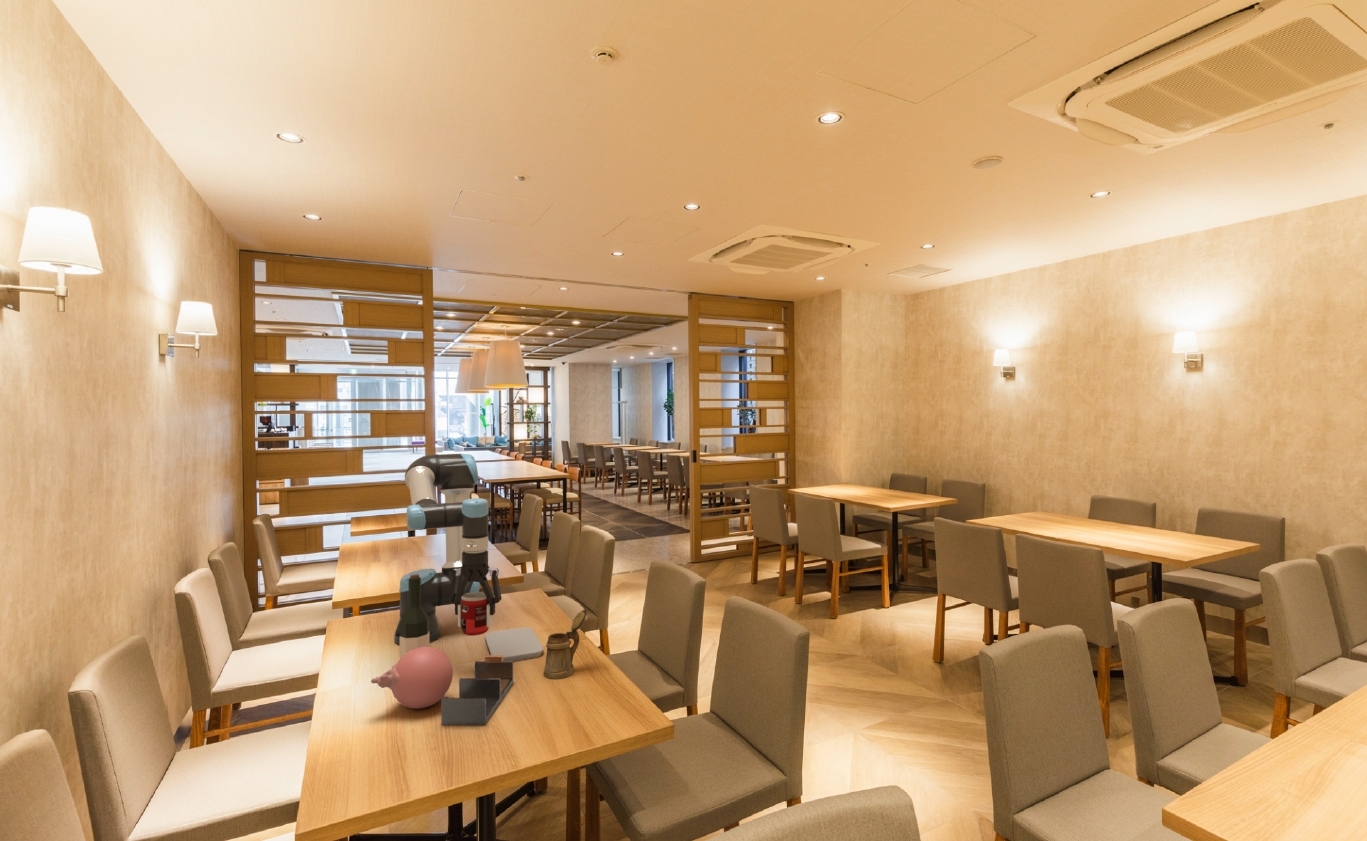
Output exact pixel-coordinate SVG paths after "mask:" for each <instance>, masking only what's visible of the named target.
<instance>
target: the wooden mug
mask: <svg viewBox="0 0 1367 841" xmlns="http://www.w3.org/2000/svg"><path fill="white" fill-rule="evenodd" d="M587 612H588V610H587V608H586V609H582V610H580V611H579V612H577V614H576V615H575V617H574V619H573V621H572V624H571V629H570V630H568V631H566V632H565V633H563V632H557V633H556V632H555V633H552V634H549V635H548V637H547V641H546V644H545V647H546V655H545V664H544V668H543V672H542V674H543V676H544V677H545V678H548V679H551V680H553V679H554V680H558V679H559V680H560V679H564V678H567V677H569V676H571V675H573V674H574V671H575V667H574V663H573V659H574V655H575V653H576V652H577V649H578V647H579V644H580V634H579V632H578V630H579V629H580V628H581V627H582V626H583V624H584V622H585V621H586V618H587V614H588V613H587ZM571 640H573V643H572V641H571ZM571 643H572V646H571Z"/></svg>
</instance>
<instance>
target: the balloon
mask: <svg viewBox="0 0 1367 841" xmlns="http://www.w3.org/2000/svg"><path fill="white" fill-rule="evenodd" d="M453 676H454V670H453V665H452V662H451V660H450V658H449V656H447V654H446V653H445V652H444V651H442V650H441V649H440V648H437V647H432V646H429V647H427V646H426V647H418V648H415V649H413V650H411V651H409V652H407V653H406V654H405V655H403V656H402V657H401V658H400V657H399V659H398V660H397V662H396V663H395V664H393V666H392V667H391V669H389V670H386V672H384V673H383V674H382V675H380V676H376V677H375V678H372V679H371V680H370V682H371V684H377V686H378V687H380V688H382V689H384V688H388V689H390V690H391V692H392V695H393V696H394V698H395V700H396V701H397V702H398V703H400V704H401V706H402V705H403V706H404V707H406V708H409V709H425V708H429V707H431V706H433V705H435V704H436V703H437V702H439V701H440V700H441V699H442V698H444V696H445V695H446V693H448V691H449V689H450V687H451V684H452V681H453Z"/></svg>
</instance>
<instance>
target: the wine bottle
mask: <svg viewBox="0 0 1367 841" xmlns="http://www.w3.org/2000/svg"><path fill="white" fill-rule="evenodd" d="M426 646H427V647H430V642H429V616H428V614H427V613H426V612H425V610H424V609H423V607H422V606H421V577H419V575H418V574H415V575H411V576H410V578H409V607H408V609H407V610H406V612H405V614H404V616H403V617H402V619H401V621H400V645H399V659H400V658H401V657H402V656H403V655H405V654H406V653H407V652H409V651H411V650H413V649H415V648H418V647H426Z"/></svg>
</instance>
